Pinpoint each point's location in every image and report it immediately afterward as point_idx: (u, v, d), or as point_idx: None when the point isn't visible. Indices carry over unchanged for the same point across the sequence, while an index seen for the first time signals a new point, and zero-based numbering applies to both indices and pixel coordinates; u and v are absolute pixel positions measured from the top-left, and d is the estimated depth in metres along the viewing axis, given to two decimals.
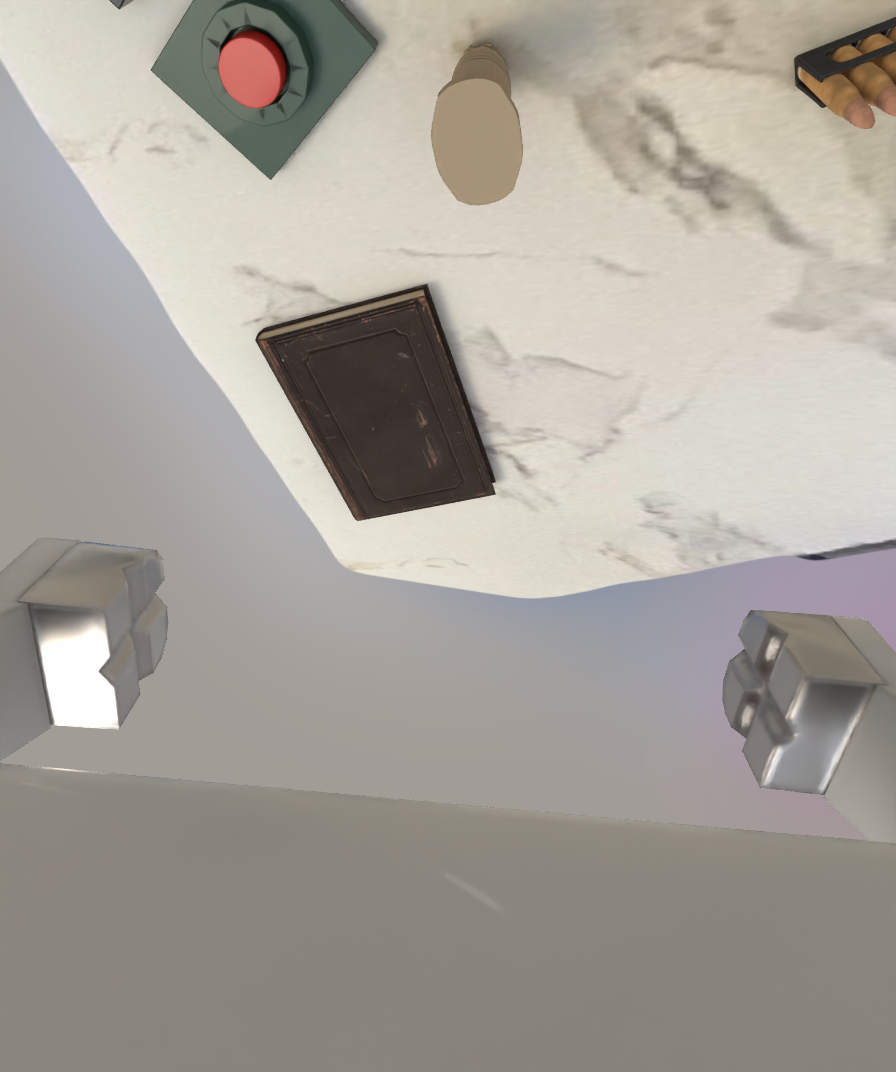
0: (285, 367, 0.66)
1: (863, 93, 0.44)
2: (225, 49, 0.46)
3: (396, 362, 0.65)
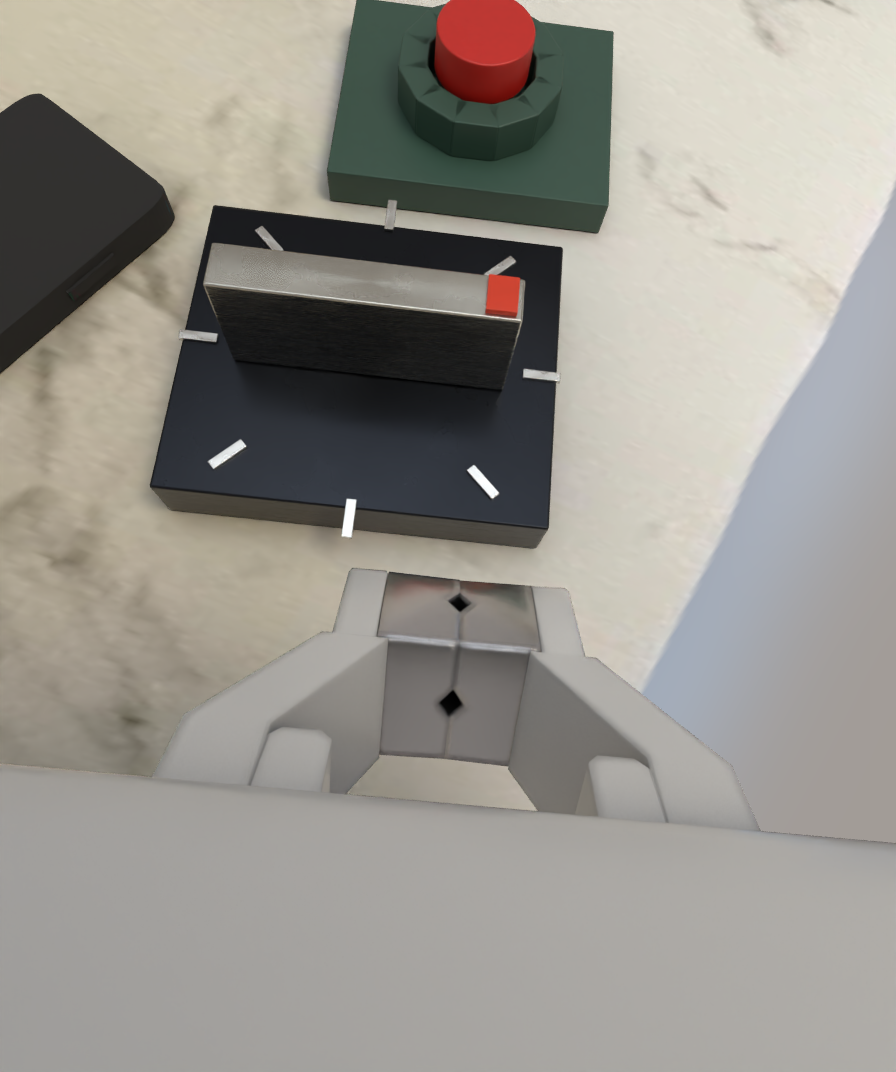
0: None
1: None
2: (481, 61, 0.29)
3: None
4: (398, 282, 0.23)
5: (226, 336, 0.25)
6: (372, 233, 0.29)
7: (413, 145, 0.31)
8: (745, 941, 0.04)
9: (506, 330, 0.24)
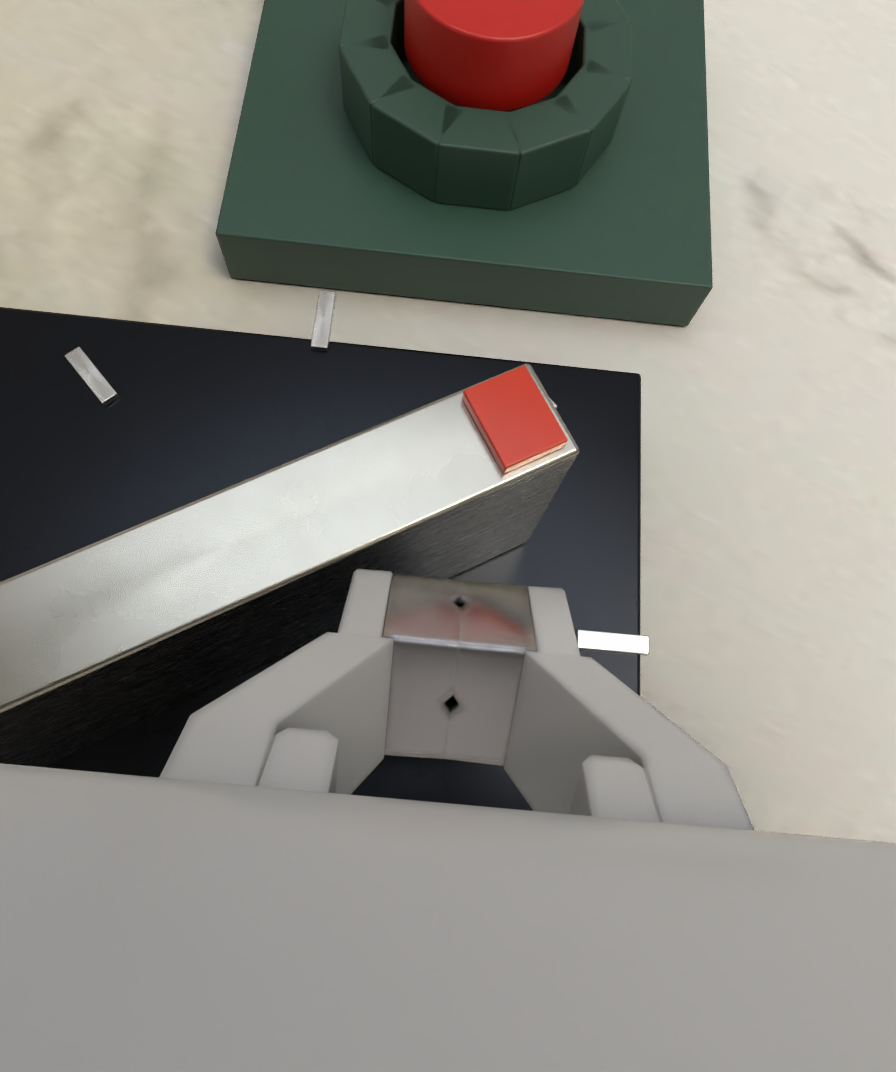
0: None
1: None
2: (488, 31, 0.15)
3: None
4: (293, 509, 0.10)
5: None
6: (289, 355, 0.16)
7: (369, 183, 0.18)
8: (745, 941, 0.04)
9: (548, 477, 0.11)
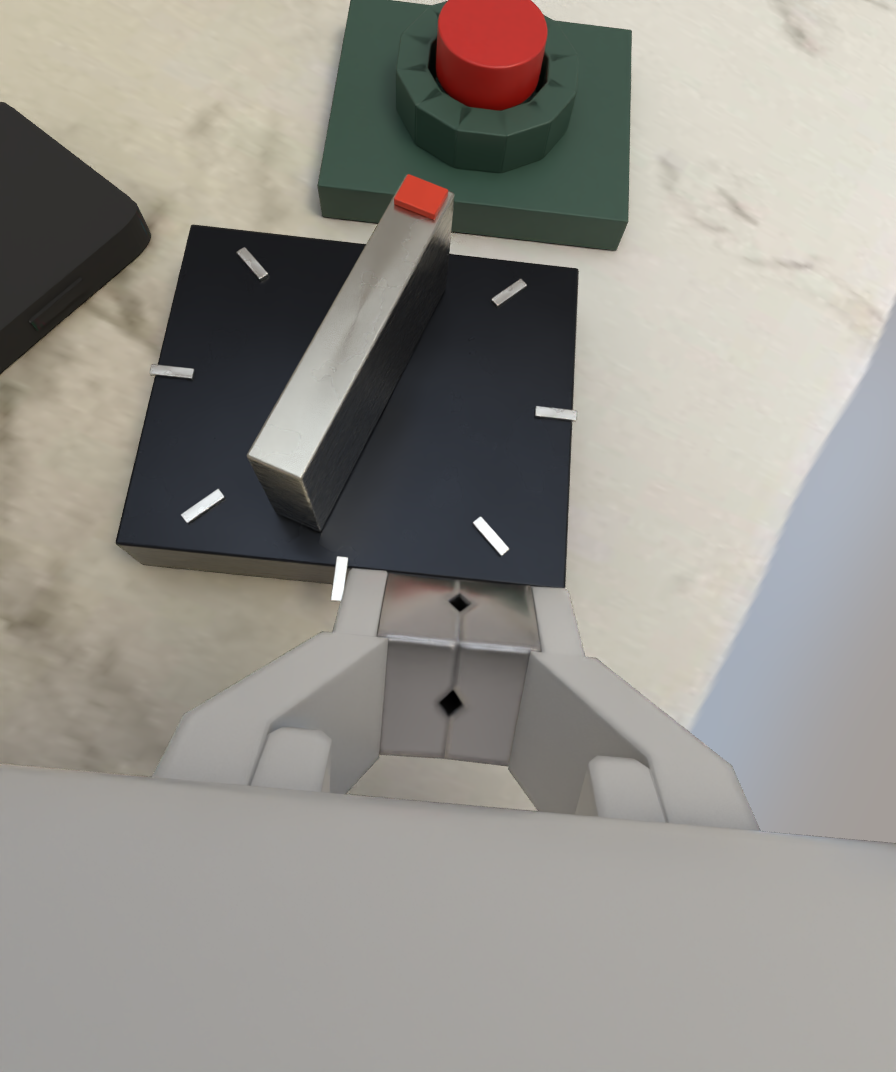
0: None
1: None
2: (487, 63, 0.26)
3: None
4: (369, 285, 0.20)
5: (316, 513, 0.21)
6: None
7: (412, 155, 0.29)
8: (745, 941, 0.04)
9: (448, 216, 0.22)
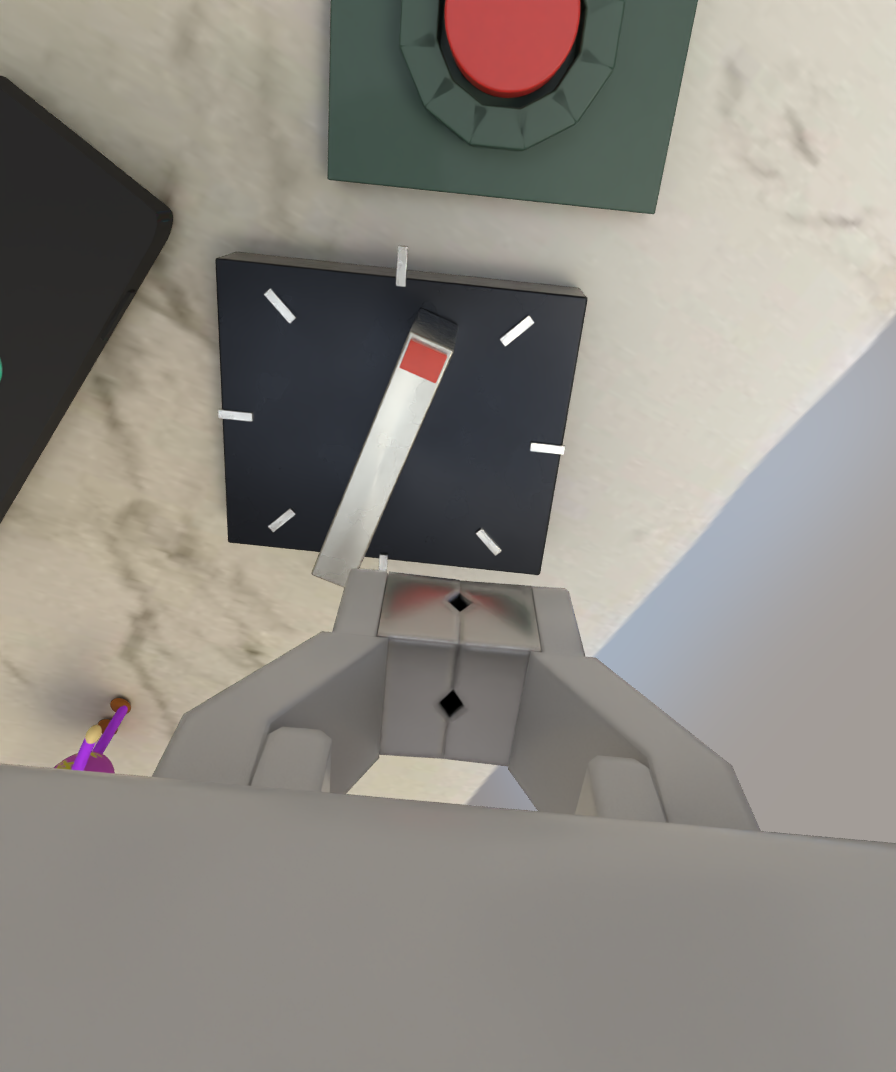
0: None
1: None
2: (501, 85, 0.22)
3: None
4: (384, 446, 0.25)
5: None
6: (384, 289, 0.28)
7: (425, 129, 0.26)
8: (745, 941, 0.04)
9: None
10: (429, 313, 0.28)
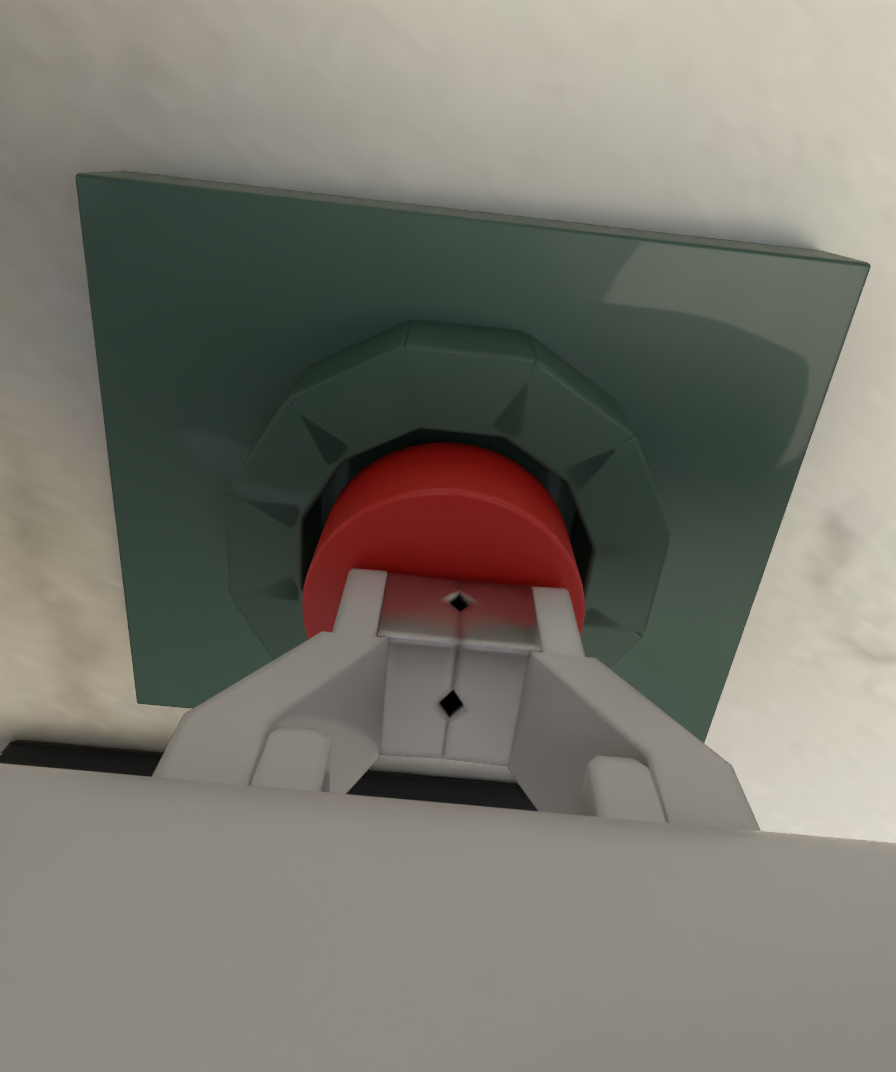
0: None
1: None
2: None
3: None
4: None
5: None
6: None
7: None
8: (745, 941, 0.04)
9: None
10: None
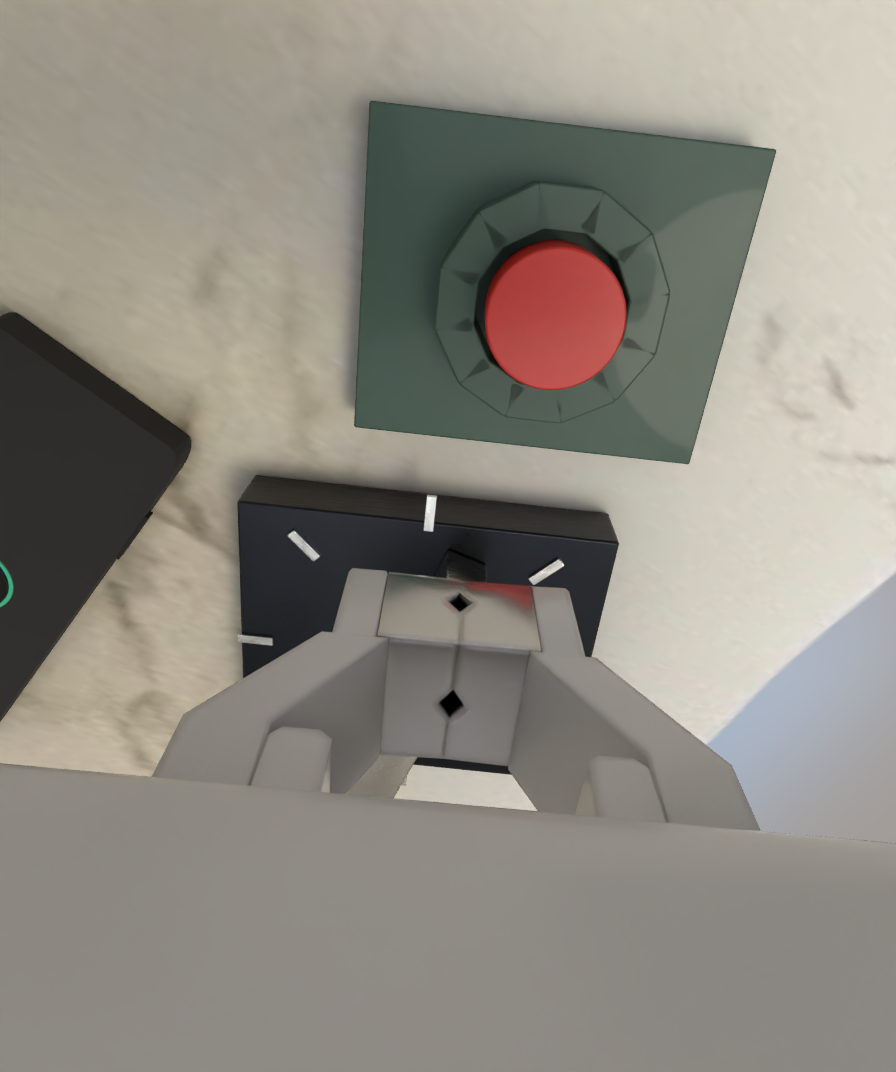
0: None
1: None
2: (542, 384, 0.22)
3: None
4: None
5: None
6: (411, 532, 0.27)
7: (456, 385, 0.25)
8: (745, 941, 0.04)
9: None
10: (457, 557, 0.27)
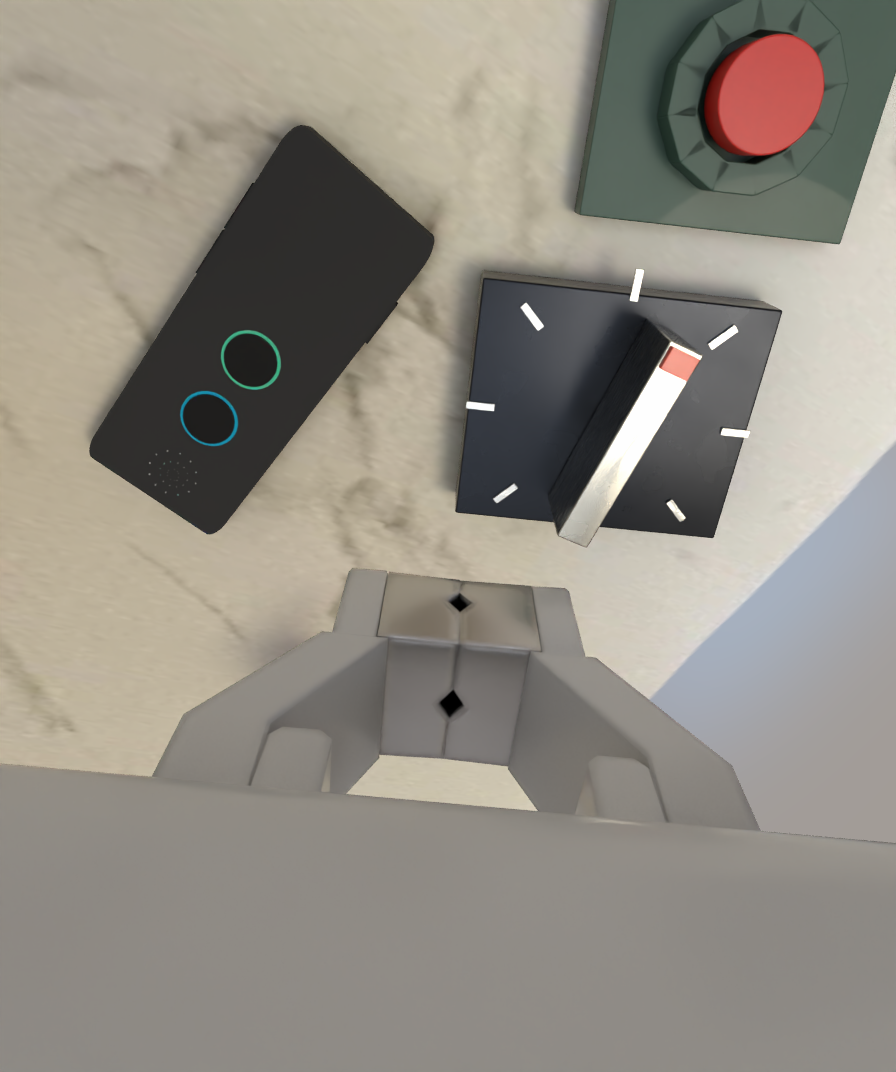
0: None
1: None
2: (755, 150, 0.29)
3: None
4: (635, 431, 0.32)
5: None
6: (618, 303, 0.34)
7: (665, 176, 0.32)
8: (745, 941, 0.04)
9: None
10: (655, 323, 0.34)
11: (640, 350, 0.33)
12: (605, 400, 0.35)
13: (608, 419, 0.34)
